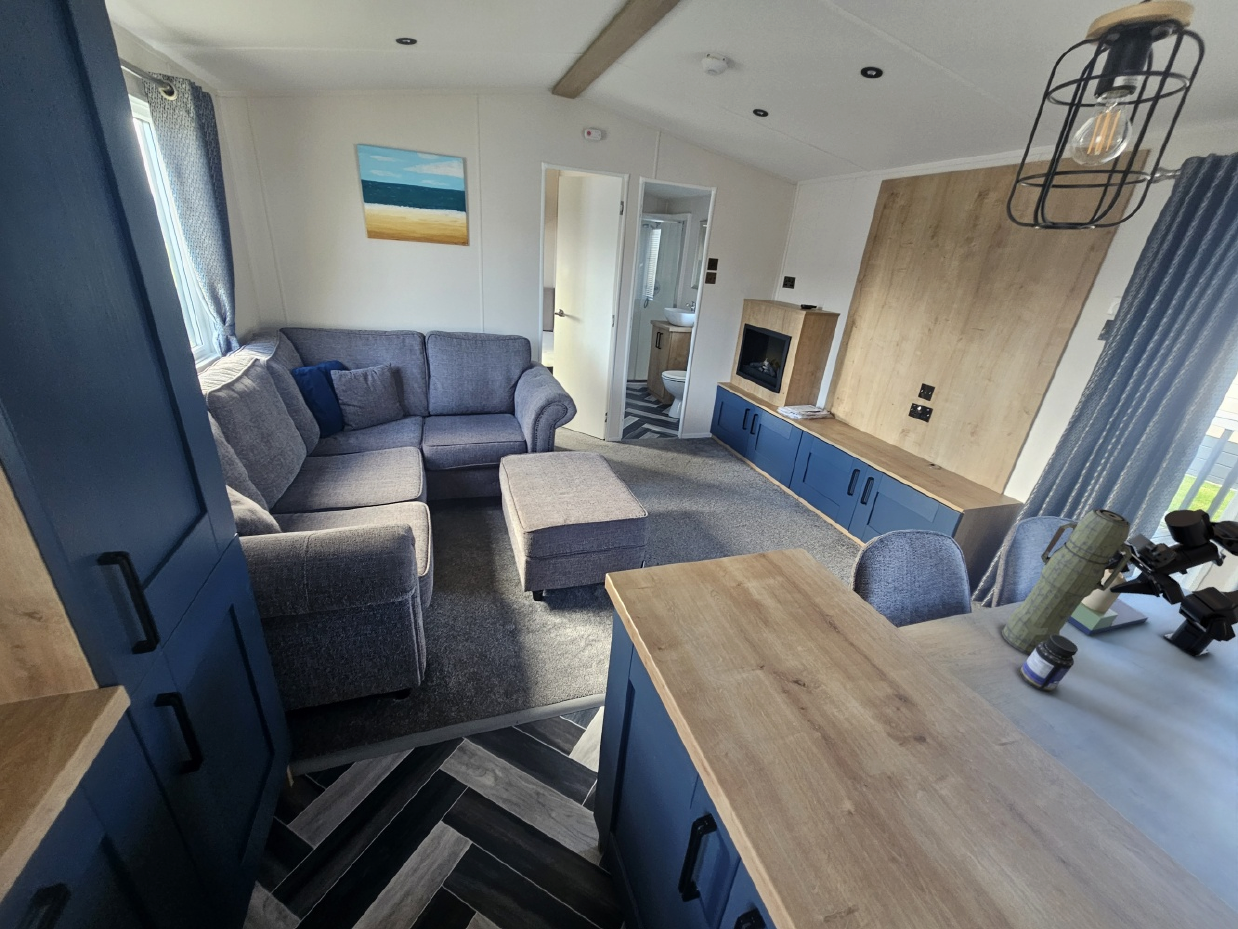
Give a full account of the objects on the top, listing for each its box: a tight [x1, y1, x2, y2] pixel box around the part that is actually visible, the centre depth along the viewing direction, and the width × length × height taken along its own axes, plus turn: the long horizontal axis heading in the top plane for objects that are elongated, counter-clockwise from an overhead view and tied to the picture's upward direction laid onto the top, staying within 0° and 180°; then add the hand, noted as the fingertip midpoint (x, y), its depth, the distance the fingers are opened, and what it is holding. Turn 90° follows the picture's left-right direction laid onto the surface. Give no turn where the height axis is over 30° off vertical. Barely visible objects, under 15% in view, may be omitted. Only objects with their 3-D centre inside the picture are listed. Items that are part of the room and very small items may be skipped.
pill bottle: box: [1019, 634, 1079, 692], centre depth 105 cm, size 6×6×11 cm
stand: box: [1067, 597, 1149, 636], centre depth 130 cm, size 24×8×6 cm, turn 110°
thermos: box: [1001, 508, 1132, 656], centre depth 110 cm, size 9×12×35 cm
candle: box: [1081, 569, 1128, 612], centre depth 124 cm, size 6×6×10 cm
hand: (1102, 582), depth 123 cm, fingers closed on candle, 5 cm apart
